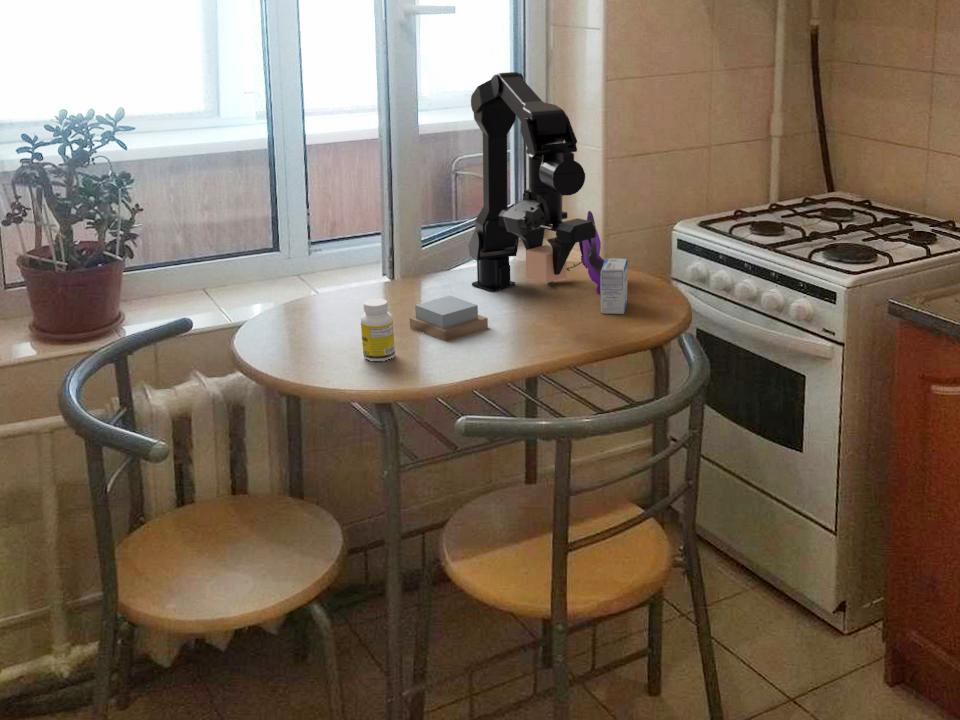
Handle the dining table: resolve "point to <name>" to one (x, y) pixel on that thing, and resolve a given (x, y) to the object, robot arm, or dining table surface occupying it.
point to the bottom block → (449, 328)
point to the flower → (591, 256)
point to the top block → (446, 311)
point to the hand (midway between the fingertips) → (546, 271)
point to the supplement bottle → (377, 331)
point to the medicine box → (614, 286)
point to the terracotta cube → (542, 265)
